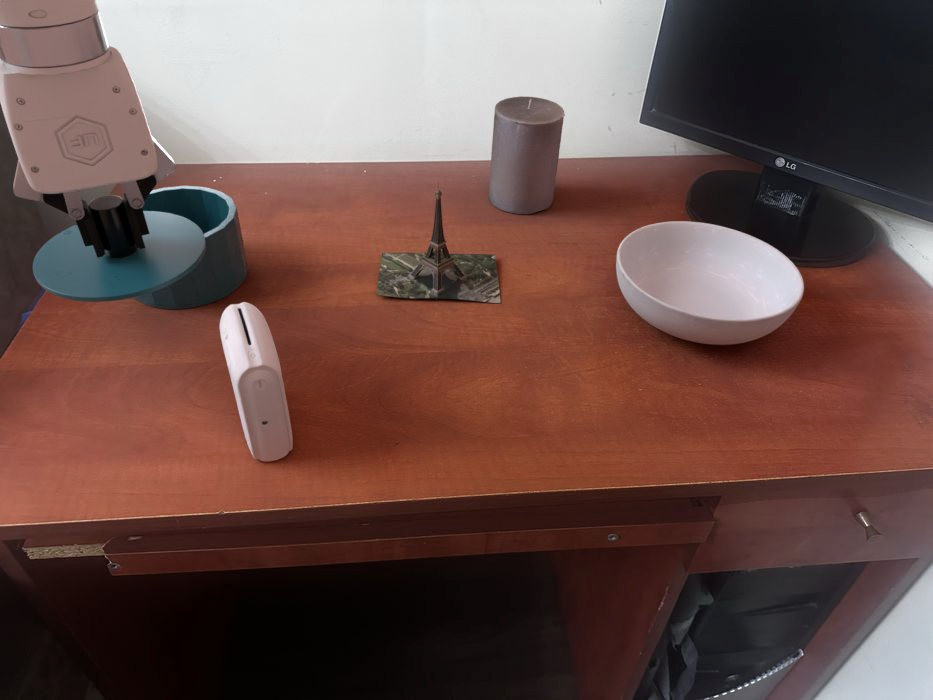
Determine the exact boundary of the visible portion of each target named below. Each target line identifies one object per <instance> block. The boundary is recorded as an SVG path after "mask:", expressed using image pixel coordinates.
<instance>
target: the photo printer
mask: <svg viewBox="0 0 933 700" xmlns="http://www.w3.org/2000/svg"><path fill="white" fill-rule="evenodd" d="M219 335H220V341H221V344H222V345H221V346H222V350H223V354H224V358H225V361H226V365H227V370H228V373H229V377H230V381H231V385H232V389H233V393H234V397H235V398H234V399H235V402H236V405H237V410H238V414H239V418H240V423H241V427H242V431H243V434H244V438H245V441H246V443H247V447H248V449H249V451H250V453H251V456H252V457H253V459H254V460H259V461H261V462H268V463H269V462H275V461H278V460H280V459H283V458H284V457H286V456H287V455H289V452H290V451H293V448H294V447H293V446H294V441H293V439H294V437H293V431H292V430H293V429H292V424H291V418H290V412H289V406H288V401H287V396H286V395H287V394H286V390H285V384H284V380H283V379H284V378H283V374H282V368H281V364H280V358H279V355H278V351H277V348H276V344H275V341H274V338H273V335H272V332H271V330H270V327H269V324H268V322H267V320H266V318H265V316H264V315H263V313H262V312H261V310H259V308H257V307H256V306H255V305H253V304H252V303H249V302H246V301H243V302H240V303H231V304H229V305H228V306H227V307H225V309H224V310H223V311H222V314H221V317H220V320H219Z"/></svg>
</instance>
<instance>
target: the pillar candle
mask: <svg viewBox="0 0 933 700" xmlns="http://www.w3.org/2000/svg"><path fill="white" fill-rule="evenodd" d="M565 116H566V114H565V110H564V109H563V107H562V106H561V105H560V104H558V103H557V102H555V101H552V100H549V99H546V98H542V97H535V96H513V97H507V98H504V99H501V100H500V101H498V102H497V103H496V104H495V106H494V114H493V126H492V127H493V128H492V140H491V141H492V142H491V153H490V154H491V158H490V168H489V169H490V170H489V182H488V183H489V185H488V201H489V202H490V203H491V205H493V206H494V207H495V208H497V209H499V210H501V211H504V212H507V213H509V214H516V215H531V214H536V213H538V212H541V211H545V210H547V209H549V208H550V207H552V204H553V202H554V196H555V186H556V178H557V173H558V166H559V159H560V158H559V157H560V148H561V141H562V133H563V126H564V118H565Z"/></svg>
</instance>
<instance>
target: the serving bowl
mask: <svg viewBox="0 0 933 700" xmlns="http://www.w3.org/2000/svg"><path fill="white" fill-rule="evenodd" d="M615 261H616V262H615V271H616V279H617V283H618V287H619V289H620V292H621V294H622V297H624V299H625V300H626V302H627V304H628V305H629V306H630V308H631V309H632V310H633V311H634V312H635V314H637V315H638V316H639V317H640V318H641V319H642V320H644V321H646V323H648V324H650V325H651V326H653V327H654V328H656V329H658V330H659V331H661V332H664V333H665V334H668V335H670V336H673V337H675V338H678V339H682V340H683V341H684V340H685V341H689V342H693V343H698V344H703V345H715V346H717V345H718V346H727V345H728V346H729V345H738V344H743V343H749V342H751V341H755V340H757V339H760V338H763V337H765V336H767V335H769V334H771V333H772V332H774V331H775V330H777V329H778V328H780V327H781V326H782V325H784V323H785V322H786V321H787V320H788V319H789V318H790V317H791V316H792V315H793V313H795V311H796V309H797V308H798V306H799V304H800V303H801V301H802V300H803V296H804V292H805V282H804V279H803V275H802V274H801V271H800V270H799V268H798V267H797V266H796V265H795V263H794V262H793V261H792V260H791V259H790V258H788V256H786V255H785V254H784V253H783V252H781V250H779V249H777V248H776V247H774V246H773V245H771V244H769V243H768V242H765V241H764V240H761V239H759V238H757V237H755V236H753V235H750V234H748V233H745V232H743V231H739V230H736V229H733V228H729V227H726V226H722V225H718V224H712V223H708V222H707V223H706V222H702V221H701V222H699V221H687V220H685V221H683V220H682V221H679V220H678V221H677V220H676V221H675V220H673V221H662V222H657V223H652V224H648V225H645V226H642V227H639V228H637V229H635V230H633V231H632V232H630V233H629V234H628V235H626V236H624V238H623V239H622V241H621V242H620V244H619V245H618V247H617V251H616V259H615Z"/></svg>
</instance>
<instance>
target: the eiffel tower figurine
mask: <svg viewBox="0 0 933 700" xmlns="http://www.w3.org/2000/svg"><path fill="white" fill-rule="evenodd" d="M437 183H438V184H437V190H436V191H435V193H434V196H435V207H434V216H433V217H434V218H433V226H432V235H431V239H430V240H429V245H428V247H427V250H426V252H382V253H381V258H380V263H379V264H380V265H379V271H378V279H377V287H376V288H377V289H376V293H375V295H376V296H384V297H392V298H403V299H435V300H439V299H450V300H462V301H463V300H464V301H473V302H483V303H490V304H491V303H492V304H502V301H501V292H500V291H501V290H500V282H499V276H498V268H497V258H496V254H491V253H490V254H489V253H488V254H487V253H452V252H451V253H450V252H449V248H448V246H447V240H446V239H445V234H444V233H445V232H444V225H443V212H442V210H443V209H442V196H443V194H442V191H441V190H440V182H437Z"/></svg>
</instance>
